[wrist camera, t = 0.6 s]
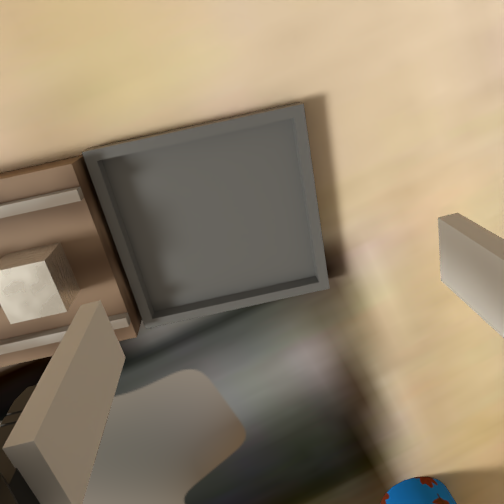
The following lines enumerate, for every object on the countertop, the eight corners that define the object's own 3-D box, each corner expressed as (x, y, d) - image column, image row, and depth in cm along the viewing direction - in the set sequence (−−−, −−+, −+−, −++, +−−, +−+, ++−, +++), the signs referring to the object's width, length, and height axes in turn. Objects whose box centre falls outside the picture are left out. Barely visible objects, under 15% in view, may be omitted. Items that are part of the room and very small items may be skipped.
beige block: (5, 254, 38) (-16, 273, 35) (60, 242, 38) (44, 260, 35) (28, 300, 40) (10, 324, 37) (80, 289, 40) (67, 311, 37)
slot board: (-127, 201, 39) (-172, 218, 35) (84, 154, 39) (67, 166, 35) (-35, 355, 47) (-62, 386, 42) (142, 315, 47) (135, 342, 42)
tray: (87, 148, 39) (81, 152, 37) (299, 102, 39) (303, 103, 37) (148, 318, 47) (145, 328, 45) (324, 279, 47) (329, 288, 45)
